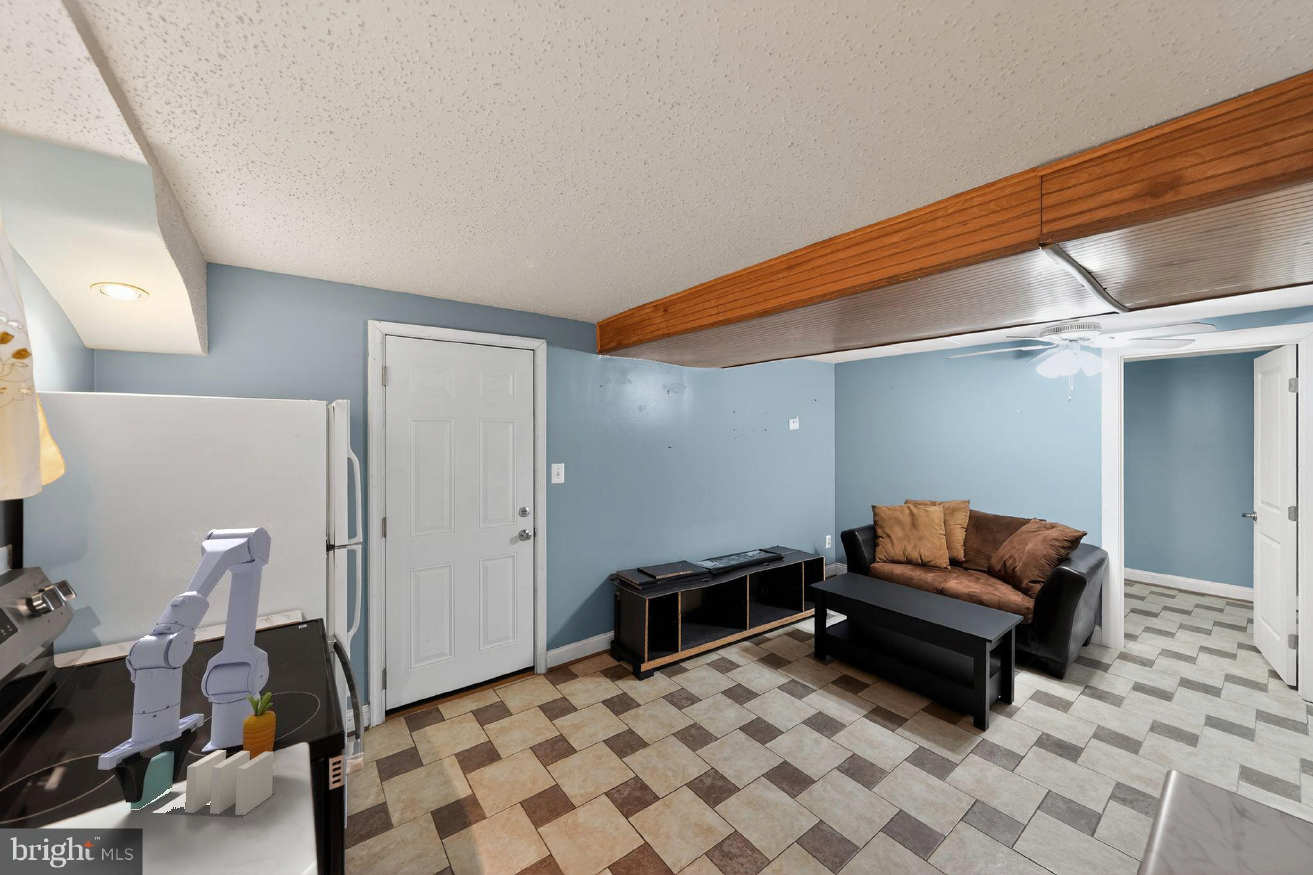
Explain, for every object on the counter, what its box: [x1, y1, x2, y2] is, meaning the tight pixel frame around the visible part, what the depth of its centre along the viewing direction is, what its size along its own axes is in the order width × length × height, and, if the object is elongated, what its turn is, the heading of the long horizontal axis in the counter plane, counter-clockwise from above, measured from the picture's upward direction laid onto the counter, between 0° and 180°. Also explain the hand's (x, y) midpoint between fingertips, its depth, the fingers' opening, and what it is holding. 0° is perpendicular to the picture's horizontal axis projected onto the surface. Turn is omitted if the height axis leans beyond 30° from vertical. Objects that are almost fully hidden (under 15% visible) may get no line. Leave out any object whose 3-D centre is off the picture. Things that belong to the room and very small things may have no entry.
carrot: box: [242, 691, 277, 761], centre depth 90 cm, size 5×5×15 cm
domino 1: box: [185, 749, 227, 813], centre depth 83 cm, size 2×5×7 cm, turn 174°
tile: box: [129, 751, 174, 810], centre depth 84 cm, size 2×5×7 cm, turn 174°
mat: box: [165, 792, 276, 818], centre depth 82 cm, size 16×6×1 cm, turn 84°
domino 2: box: [210, 750, 250, 814], centre depth 82 cm, size 2×5×7 cm, turn 174°
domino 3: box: [235, 751, 275, 816], centre depth 82 cm, size 2×5×7 cm, turn 174°
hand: (152, 790), depth 84 cm, fingers closed on tile, 5 cm apart
